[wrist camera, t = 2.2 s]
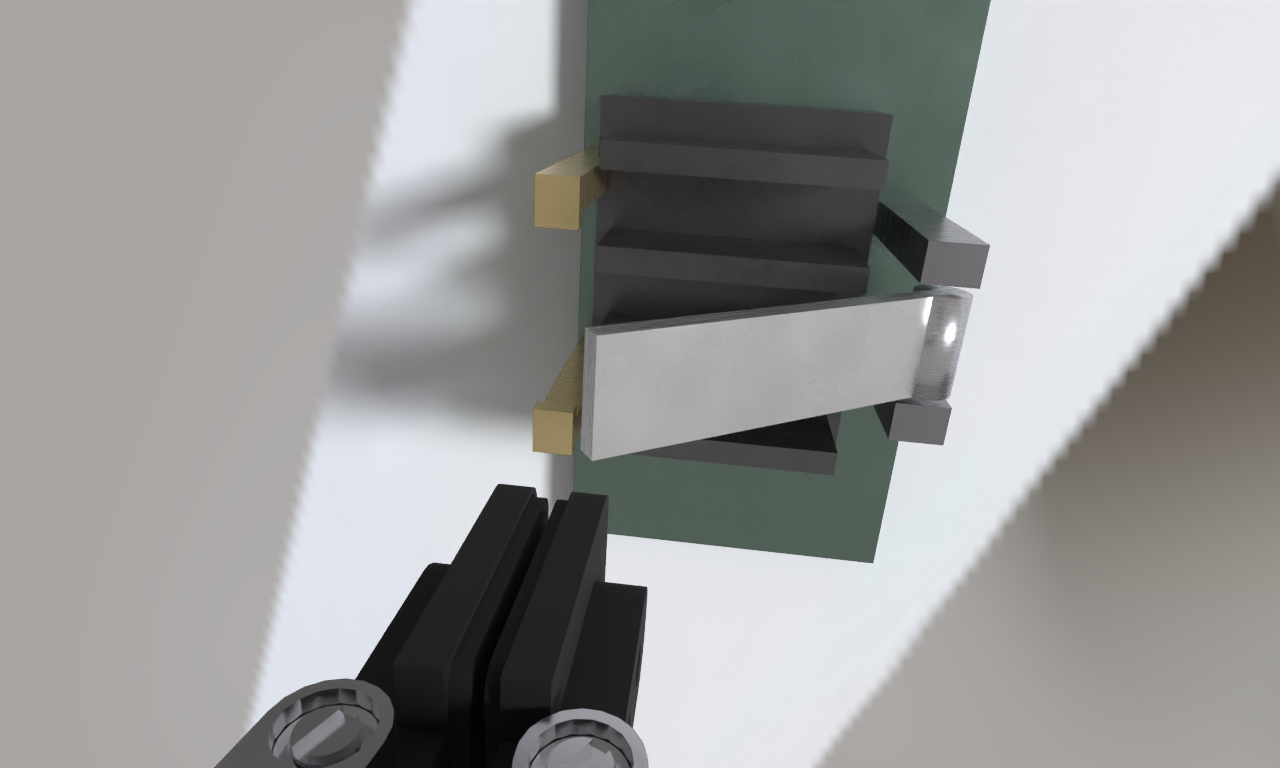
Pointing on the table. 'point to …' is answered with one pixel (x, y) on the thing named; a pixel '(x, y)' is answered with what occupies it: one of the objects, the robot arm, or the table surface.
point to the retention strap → (765, 366)
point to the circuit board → (762, 235)
